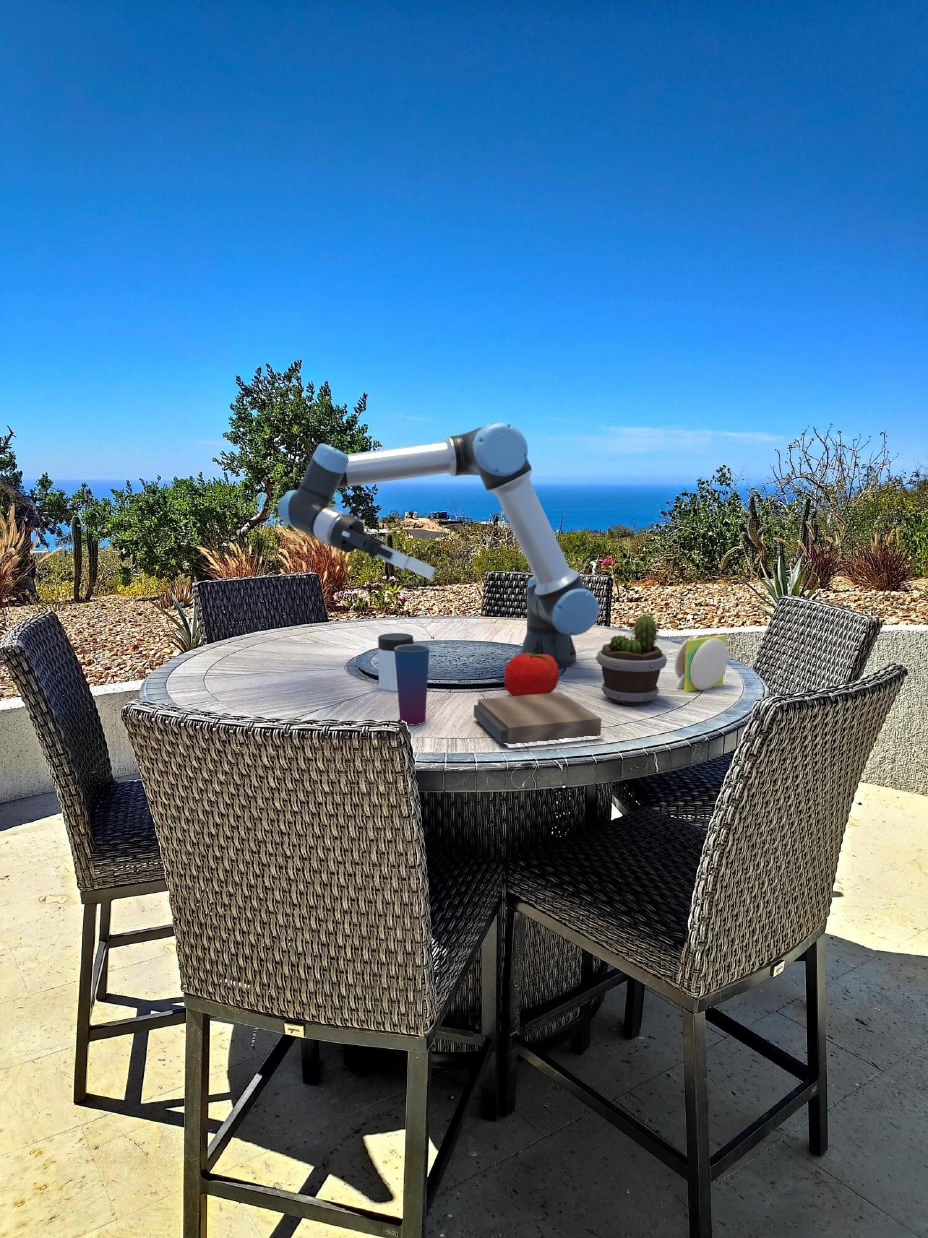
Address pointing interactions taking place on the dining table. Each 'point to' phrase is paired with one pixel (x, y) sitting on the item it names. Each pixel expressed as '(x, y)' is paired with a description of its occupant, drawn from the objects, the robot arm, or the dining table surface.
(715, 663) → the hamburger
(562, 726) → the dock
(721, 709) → the dining table surface
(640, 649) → the flowerpot
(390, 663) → the jar
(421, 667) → the cup
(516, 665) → the tomato
